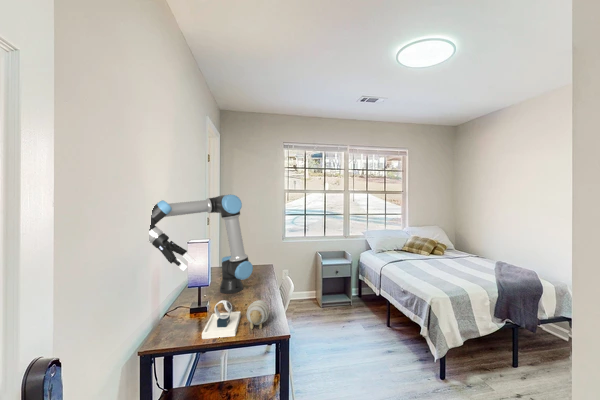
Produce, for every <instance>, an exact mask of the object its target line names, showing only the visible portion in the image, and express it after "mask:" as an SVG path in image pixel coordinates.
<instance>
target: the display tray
mask: <svg viewBox="0 0 600 400" xmlns="http://www.w3.org/2000/svg"><path fill="white" fill-rule="evenodd" d="M219 313H220V315H229V312H228V311H227V312H219ZM241 316H242V315H241V311H239V310H238V311H232V312H231V314H230V322H229V324H228V325H227V327H217V320H218V319H219V317H217V315H216V314H215V312H214V313H211V316H210V317H209V319H208V321H207V323H206V324H205V326H204V328H203V330H202V333H201V339H202V340H207V339H218V338H219V337H220V338H228V337H229V338H230V337H235V336H236V334H237V330H238V328H239V323H240V321H241Z"/></svg>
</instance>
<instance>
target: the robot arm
mask: <svg viewBox="0 0 600 400" xmlns="http://www.w3.org/2000/svg"><path fill="white" fill-rule="evenodd" d="M154 205H155V206H154V208H153V210H152V215H151V225H150V229H149V241H150V242H149V241H148V242H149V243H151V245H152V246H153V247H154V248H156V249H157V250H159V251H160V253H162V255H163V256H164V258H165V259H166V260H167V261H168V263H169V264H174V265H175V266H177V268H179V269H180V270H181V271H182V272H184V271H185V270H186V269H187V268H188V267H189V266H188V265H187V264H186V263H185V262H183V261H182V260H181V259H180V258H178V257H176V255H175V254H178V255H180V256H182V258H183V259H185V260H186V261H187V262H188V263H189V264H190V265H193V264H194V263H195V261H196V260H195V259H194V258H193V257H192V256H191V255H190V254H189V253H188V250H187V249H185V248H183V247H182V246H180V245H178V244H177V243H175V242H174V241H172V240H170V241H169V239H170V237H169V235H167V234H166V233H163V231H162V230H161V229H160V228H159V227H158V226H157V224H158V223H159V222H160V221H162V220H163V219H164V218H167V217H177V216H184V215H192V214H193V215H194V214H201V213H208V214H212V213H213V214H215V213H217V214H220V217H221V219H222V220H224V224H225V230H226V237H227V239H228V240H227V241H228V247H229V253H230V255H228V256H227V255H226V256H224V257H223V256H222V257H221V278H222V280H221V282H220V286H219V292H220V293H221V294H227V295H228V294H235V293H240V292H241V291H243V289H244V286H243V282H242V280H243V281H244V280H246V279H249V277H250V276H251V275H252V273H253V270H254V267H253V266H254V265H253V264H252V263H251V262H250V261H249V260H250V259H249V256H248V254H246V252H245V247H244V242H243V236H242V229H241V225H240V219H239V218H240V216H241V209H242V207H243V203H242V200H241V199H240V197H238V196H237V195H235V194H224V195H223V194H222V195H218V196H214V197H207V198H206V199H203V200H194V201H184V202H183V201H182V202H174V203H173V202H172V203H168V202H167V201H165V200H162V199H161V200H160V201H159V202H157V203H156V204H154ZM151 229H152V230H151ZM150 230H151V231H150Z"/></svg>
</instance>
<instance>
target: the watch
mask: <svg viewBox="0 0 600 400" xmlns="http://www.w3.org/2000/svg"><path fill="white" fill-rule="evenodd" d="M221 303H222V305H223V306H224V309H225V310H226V311H227V312H229V315H220V313H221V312H220V311H219V309H218V305H219V304H221ZM231 312H233V306H232V303H231V302H230V301H229V300H225V299H223V300H220V301H218V302H217V303H216V304H215V305H214V313H215V314H216V315H217V317H219V319H218V320H217V327H227V325H228V324H229V322H230V314H231Z"/></svg>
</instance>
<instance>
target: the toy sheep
mask: <svg viewBox="0 0 600 400" xmlns="http://www.w3.org/2000/svg"><path fill="white" fill-rule="evenodd" d="M269 316H270V308H269V305H268V304H267V303H266V301H264V300H262V299H259V300H255V301H253V302H252V303H250V304H249V306H248V307H247V310H246V318H247V321H248V322H249V323H250V324H249V325H250V329H251V330H253V329H254V326H258V328H259V330H262V329H263V324H264V323H265V322H266V321H267V320H268V319H269Z"/></svg>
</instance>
